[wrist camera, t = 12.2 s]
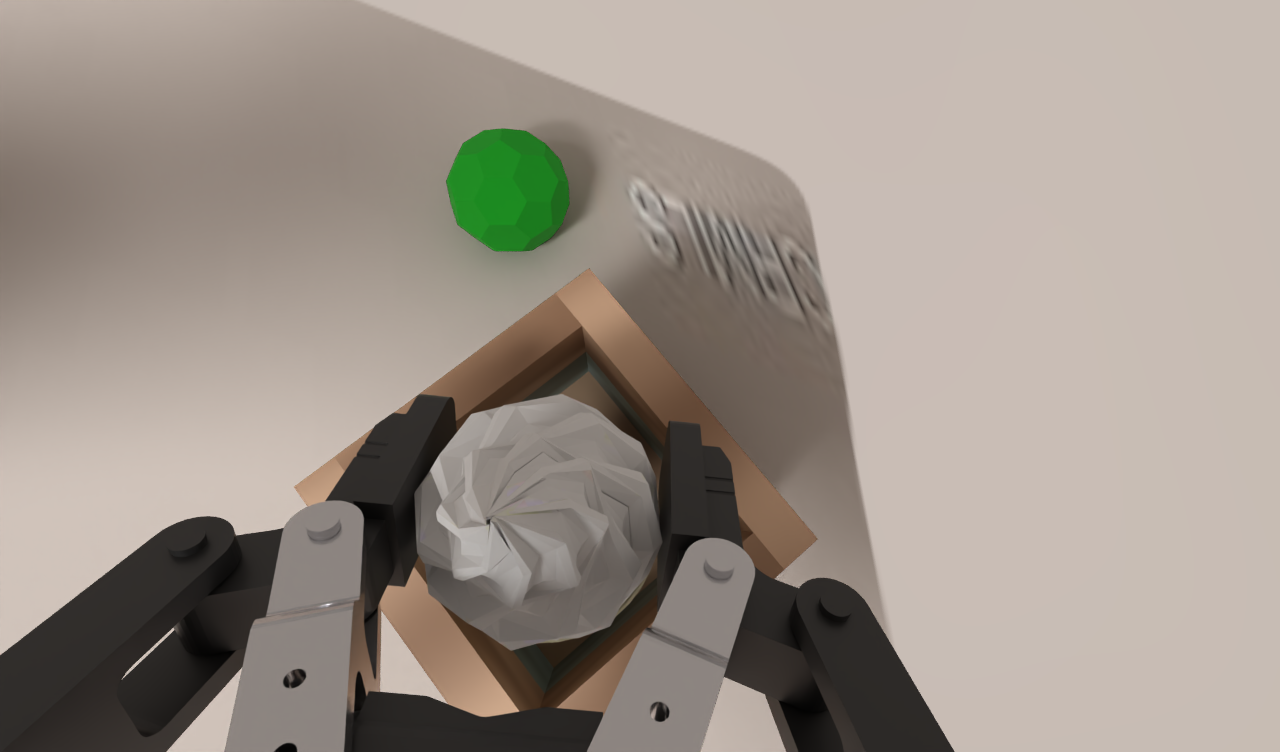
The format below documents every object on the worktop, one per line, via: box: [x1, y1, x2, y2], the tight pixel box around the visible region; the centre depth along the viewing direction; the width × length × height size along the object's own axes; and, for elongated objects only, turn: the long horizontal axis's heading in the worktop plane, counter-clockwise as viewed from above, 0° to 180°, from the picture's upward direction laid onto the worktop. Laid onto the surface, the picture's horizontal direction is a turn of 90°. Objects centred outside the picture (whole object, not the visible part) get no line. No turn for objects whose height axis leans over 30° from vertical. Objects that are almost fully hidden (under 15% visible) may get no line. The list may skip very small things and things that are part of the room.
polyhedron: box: [446, 129, 569, 251], centre depth 26 cm, size 5×5×5 cm
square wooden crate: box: [294, 269, 817, 717], centre depth 21 cm, size 10×10×9 cm
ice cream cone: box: [414, 394, 663, 651], centre depth 14 cm, size 5×5×15 cm
